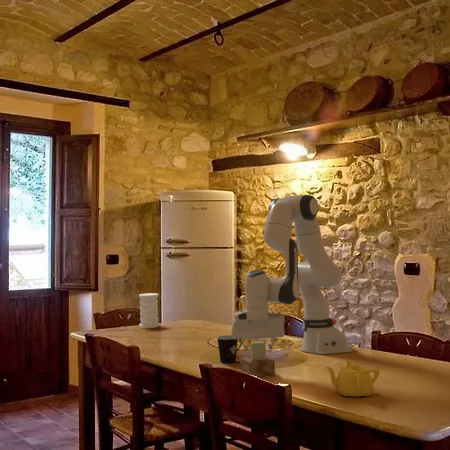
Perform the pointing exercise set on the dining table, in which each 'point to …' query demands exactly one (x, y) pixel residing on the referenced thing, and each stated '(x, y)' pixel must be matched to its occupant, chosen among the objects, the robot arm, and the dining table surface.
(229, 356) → the coffee mug
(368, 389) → the teapot
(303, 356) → the dining table surface
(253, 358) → the green cube
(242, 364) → the walnut box
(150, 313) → the decorative container
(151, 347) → the dining table surface
